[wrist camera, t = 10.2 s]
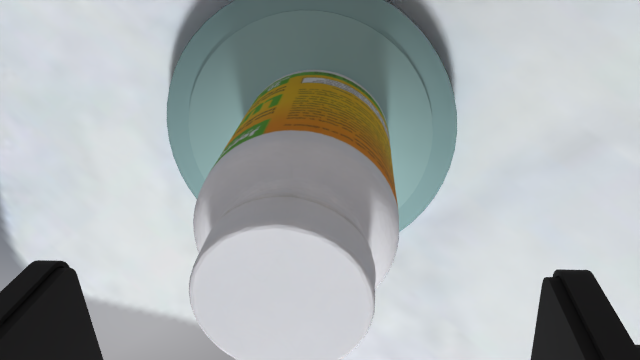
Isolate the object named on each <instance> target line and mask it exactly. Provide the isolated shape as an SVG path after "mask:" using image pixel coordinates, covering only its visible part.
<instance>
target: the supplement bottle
mask: <svg viewBox="0 0 640 360" xmlns="http://www.w3.org/2000/svg"><path fill="white" fill-rule="evenodd" d="M193 225H194V236H195V241H196V246H197V250H198V252H199V255H198V257H197V259H196V261H195V264H194V266H193V270H192V273H191V276H190V283H189V296H190V303H191V307H192V310H193V313H194V316H195V318H196V320H197V322H198V324H199V325H200V327H201V328H202V330H203V331H204V333H205V334H206V335H207V336H208V337H209V338H210V340H211V341H212V342H214V344H216V345H217V346H218V347H219V348H220V349H221V350H223V351H224V352H225V353H227V354H228V355H230V356H232V357H233V358H235V359H237V360H341V359H342V358H344V357H345V356H347V355H348V354H349V353H351V352H352V351H353V350H354V349H355V348H356V347H357V346H358V345H359V344H360V342H361V341H362V340H363V338H364V337H365V335H366V334H367V332H368V330H369V327H370V325H371V323H372V319H373V315H374V308H375V289H376V288H377V287H378V286H379V285H380V284H381V282H382V281H383V279H384V278H385V276H386V275H387V273H388V271H389V270H390V268H391V265H392V263H393V261H394V258H395V255H396V251H397V247H398V241H399V214H398V203H397V197H396V189H395V182H394V174H393V165H392V157H391V147H390V137H389V131H388V127H387V122H386V119H385V116H384V114H383V112H382V109H381V108H380V106H379V104H378V103H377V101H376V100H375V99H374V98H373V96H372V95H371V94H370V93H369V92H368V91H367V90H366V89H365V88H364V87H362V86H361V85H360V84H358V83H357V82H356V81H354V80H352V79H350V78H348V77H346V76H344V75H342V74H339V73H335V72H331V71H326V70H303V71H298V72H294V73H291V74H288V75H285V76H283V77H281V78H279V79H277V80H276V81H274V82H273V83H271V84H270V85H269V86H268V87H266V88H265V89H264V90H263V91H262V92H261V93H260V94H259V96H258V97H257V98H256V100H255V101H254V102H253V104H252V105H251V107H250V108H249V110H248V112H247V113H246V115H245V117H244V118H243V120H242V121H241V123H240V125H239V126H238V128H237V130H236V131H235V133H234V134H233V136H232V138H231V139H230V141H229V142H228V144H227V146H226V147H225V149H224V150H223V152H222V154H221V155H220V157H219V158H218V160H217V161H216V163H215V165H214V166H213V168H212V169H211V171H210V172H209V174H208V176H207V178H206V180H205V181H204V184H203V185H202V188H201V190H200V192H199V195H198V198H197V201H196V205H195V211H194V220H193Z"/></svg>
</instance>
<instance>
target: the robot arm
mask: <svg viewBox="0 0 640 360" xmlns="http://www.w3.org/2000/svg"><path fill="white" fill-rule="evenodd" d="M0 360H103V357H102V354H101V351H100V348H99V344H98V341H97V338H96V335H95V332H94V328H93V325H92V322H91V319H90V315H89V312H88V309H87V306H86V302H85V299H84V296H83V293H82V290H81V286H80V283H79V280H78V277H77V274H76V272H75V270H74V269H72V268H70V267H69V265H68V264H67V263H66V262H64V261H39V260H38V261H34V262H32V263H31V264H29V265H28V266H27V267H26V268H25V269H24V270H23V271H22V272H21V273H20V274H19V275H18V276H17V277H16V278H15V279H14V280H13V281H12V282H11V283H9V285H8V286H6V287H5V288H4V289H3V290H2V291H1V292H0ZM531 360H640V345H635V344H634V343H633V341H632V339H631V338H630V336H629V334H628V333H627V331H626V329H625V327H624V326H623V324H622V322H621V321H620V319H619V317H618V316H617V314H616V312H615V311H614V309H613V307H612V306H611V304H610V302H609V301H608V299H607V297H606V296H605V294H604V292H603V290H602V289H601V287H600V285H599V284H598V282H597V280H596V279H595V277H594V275H593V274H592V273H591V271H588V270H556V271H555V272H554V274H553V277H545V278H544V280H543V283H542V289H541V295H540V302H539V309H538V315H537V322H536V328H535V335H534V342H533V348H532V355H531Z"/></svg>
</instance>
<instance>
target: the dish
mask: <svg viewBox="0 0 640 360" xmlns="http://www.w3.org/2000/svg"><path fill="white" fill-rule="evenodd" d="M303 70H326V71H331V72H335V73H339V74H342V75H344V76H346V77H348V78H350V79H352V80H354V81H356V82H357V83H358V84H360V85H361V86H362V87H364V88H365V89H366V90H367V91H368V92H369V93H370V94H371V95H372V96H373V98H374V99H375V100H376V101H377V103H378V104H379V106H380V108H381V109H382V112H383V114H384V116H385V119H386V122H387V127H388V131H389V137H390V147H391V157H392V165H393V174H394V182H395V189H396V197H397V203H398V214H399V232H400V231H401V230H403V229H404V228H405V227H407V226H408V225H409V224H411V223H412V222H413V221H414V220H415V219H416V218H417V217H418V216H419V215H420V214H421V213H422V212H423V211H424V210H425V209H426V207H427V206H428V205H429V204H430V202H431V201H432V200H433V198H434V197H435V195H436V194H437V192H438V190H439V189H440V187H441V185H442V184H443V182H444V179H445V177H446V175H447V172H448V170H449V168H450V165H451V161H452V157H453V154H454V150H455V143H456V135H457V112H456V105H455V99H454V94H453V90H452V87H451V84H450V81H449V77H448V75H447V73H446V70H445V68H444V66H443V64H442V62H441V60H440V58H439V56H438V54H437V53H436V51H435V49H434V48H433V46H432V45H431V43H430V42H429V40H428V39H427V37H426V36H425V35H424V33H423V32H422V31H421V30H420V29H419V28H418V27H417V25H416V24H415V23H414V22H413V21H412V20H411V19H410V18H409V17H407V16H406V15H405V14H404V13H403V12H402V11H400V10H399V9H398V8H397V7H395V6H394V5H392V4H390V3H389V2H387V1H386V0H234V1H233V2H231V3H230V4H228V5H226V6H225V7H223V8H222V9H220V10H219V11H218V12H217V13H216V14H214V15H213V16H212V17H211V18H210V19H208V20H207V21H206V22H205V23H204V24H203V25H202V27H201V28H200V29H199V30H198V31H197V32H196V33H195V35H194V36H193V37H192V39H191V40H190V42H189V43H188V45H187V46H186V48H185V49H184V51H183V53H182V55H181V57H180V59H179V61H178V63H177V65H176V68H175V70H174V74H173V77H172V80H171V84H170V88H169V95H168V101H167V127H168V135H169V141H170V145H171V149H172V152H173V156H174V159H175V161H176V164H177V166H178V169H179V171H180V173H181V175H182V177H183V179H184V180H185V182H186V184H187V186H188V188H189V189H190V190H191V192H192V193H193V194H194V196H195V197H196V199H197V198H198V195H199V192H200V190H201V188H202V185H203V184H204V181H205V180H206V178H207V176H208V174H209V172H210V171H211V169H212V168H213V166H214V165H215V163H216V161H217V160H218V158H219V157H220V155H221V154H222V152H223V150H224V149H225V147H226V146H227V144H228V142H229V141H230V139H231V138H232V136H233V134H234V133H235V131H236V130H237V128H238V126H239V125H240V123H241V121H242V120H243V118H244V117H245V115H246V113H247V112H248V110H249V108H250V107H251V105H252V104H253V102H254V101H255V100H256V98H257V97H258V96H259V94H260V93H261V92H262V91H263V90H264V89H265V88H266V87H268V86H269V85H270V84H271V83H273V82H274V81H276V80H277V79H279V78H281V77H283V76H285V75H288V74H291V73H294V72H298V71H303Z"/></svg>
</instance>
